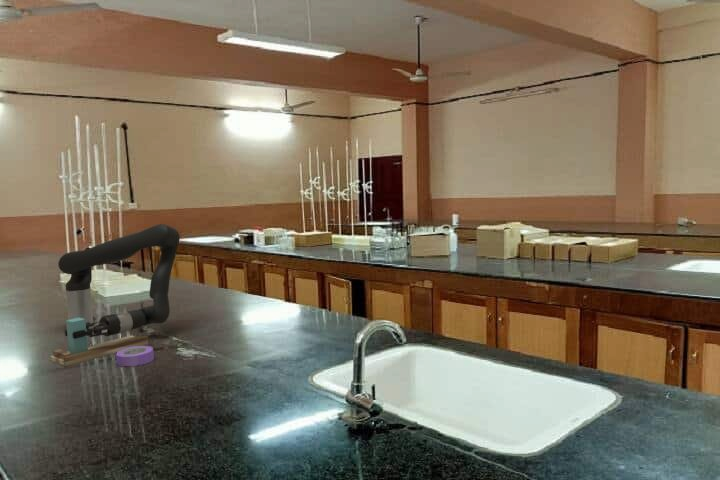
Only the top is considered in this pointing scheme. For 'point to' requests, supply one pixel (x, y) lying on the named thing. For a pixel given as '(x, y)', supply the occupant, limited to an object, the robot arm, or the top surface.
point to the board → (97, 350)
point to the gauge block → (78, 343)
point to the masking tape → (135, 356)
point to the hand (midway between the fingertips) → (69, 334)
